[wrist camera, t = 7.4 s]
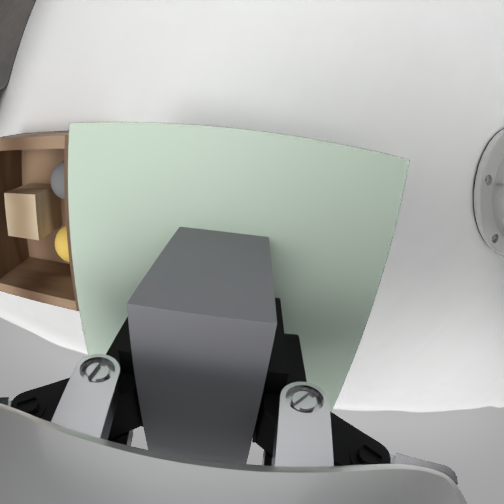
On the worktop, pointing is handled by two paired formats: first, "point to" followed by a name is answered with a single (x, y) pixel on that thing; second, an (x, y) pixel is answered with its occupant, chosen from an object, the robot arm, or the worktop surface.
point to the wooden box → (43, 251)
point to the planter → (11, 33)
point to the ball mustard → (62, 244)
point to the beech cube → (32, 211)
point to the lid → (224, 264)
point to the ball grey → (58, 180)
